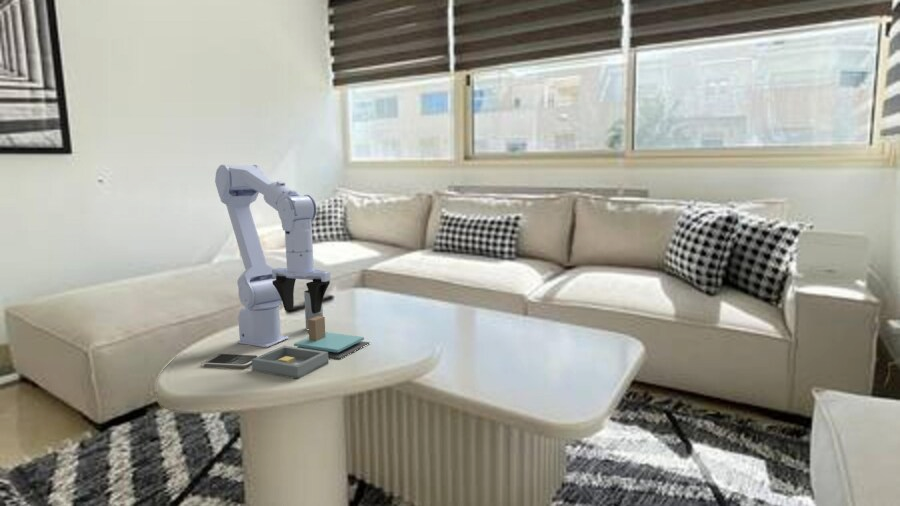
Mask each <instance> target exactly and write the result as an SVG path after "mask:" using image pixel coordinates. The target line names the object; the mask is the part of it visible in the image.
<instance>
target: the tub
mask: <svg viewBox="0 0 900 506" xmlns="http://www.w3.org/2000/svg"><path fill="white" fill-rule="evenodd" d="M297 347H298V346H289V345H283V346H280V347H278V348H276V349H273V350H271V351H268V352H266V353H262V354H261V355H257V356H258V357H256V358H254V359H252V365H251V370H252V372H258V373H264V374H269V375H273V376H274V375H275V376H279V377H280V376H281V377H286V378H291V379H292V378H293V379H297V380H299V379H301V378H303V377H304V376H306V375H309V374H310V373H312V372H315V371H316V370H318V369H320V368H322V367H324V366H326V365H327V364H329V358H328V352H324V351H318V350H311V349H304V348H297Z"/></svg>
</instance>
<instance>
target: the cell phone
mask: <svg viewBox="0 0 900 506" xmlns="http://www.w3.org/2000/svg"><path fill="white" fill-rule="evenodd" d="M258 356H259V355H256V354H255V355H254V354H252V355H251V354H236V353H234V354H231V353H217V354H216V355H214V356H212V357H210V358H208V359H207V360H205V361H203V362H201V364H200V366H201V367H203V368H204V367H205V368H218V369H219V368H220V369H221V368H223V369H236V370H237V369H240V370H244V369H248V368H249V367H250V368H251V367H252V359H254V358H256V357H258Z"/></svg>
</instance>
